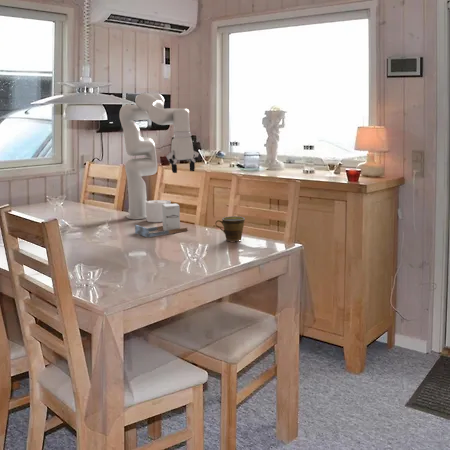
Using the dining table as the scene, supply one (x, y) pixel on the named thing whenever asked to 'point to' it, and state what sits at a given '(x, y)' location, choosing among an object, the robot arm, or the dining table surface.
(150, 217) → the toilet tissue
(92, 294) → the dining table surface
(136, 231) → the blue brown forked frame
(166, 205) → the supplement box
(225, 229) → the ceramic cup
